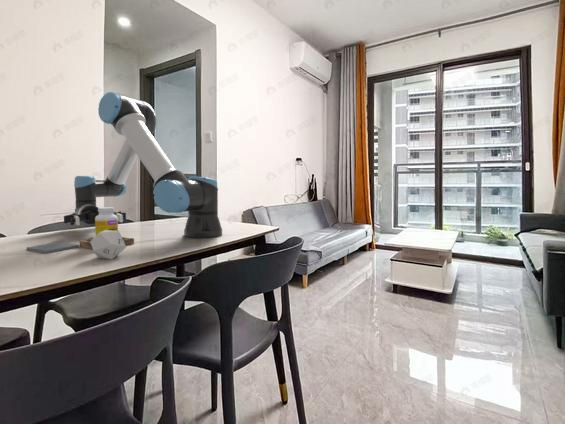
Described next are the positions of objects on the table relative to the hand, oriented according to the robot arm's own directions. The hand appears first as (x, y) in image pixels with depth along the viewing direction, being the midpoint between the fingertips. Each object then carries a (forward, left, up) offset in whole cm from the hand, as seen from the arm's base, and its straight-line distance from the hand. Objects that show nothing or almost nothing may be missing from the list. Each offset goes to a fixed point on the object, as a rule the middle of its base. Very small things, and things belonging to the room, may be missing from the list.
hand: (100, 219), depth 111 cm
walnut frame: (-8, +4, -8) cm, 12 cm away
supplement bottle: (-8, +4, -8) cm, 12 cm away
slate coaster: (+2, +15, -8) cm, 17 cm away
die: (-23, +14, -8) cm, 28 cm away
